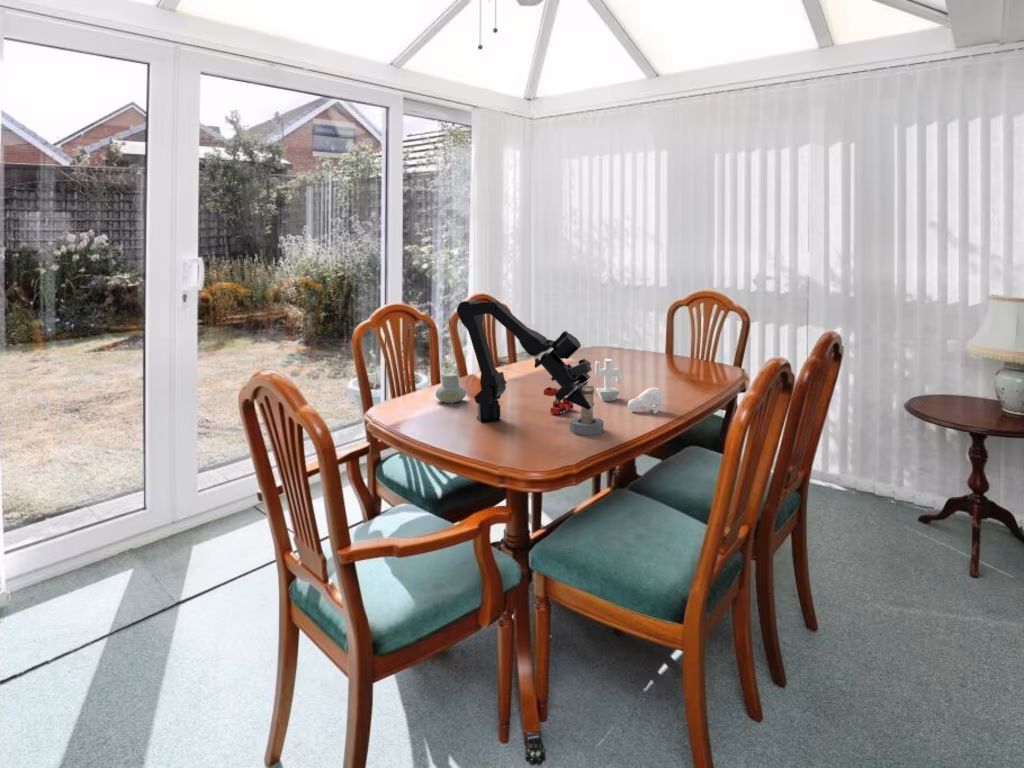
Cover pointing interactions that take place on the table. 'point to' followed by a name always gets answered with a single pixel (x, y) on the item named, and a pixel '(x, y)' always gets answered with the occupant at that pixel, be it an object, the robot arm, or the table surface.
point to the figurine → (607, 380)
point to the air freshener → (450, 389)
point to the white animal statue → (647, 400)
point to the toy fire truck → (558, 406)
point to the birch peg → (585, 413)
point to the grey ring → (586, 426)
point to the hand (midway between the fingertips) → (591, 407)
